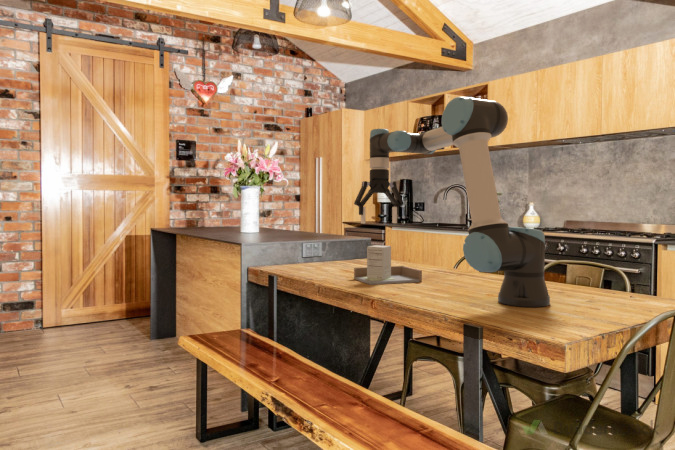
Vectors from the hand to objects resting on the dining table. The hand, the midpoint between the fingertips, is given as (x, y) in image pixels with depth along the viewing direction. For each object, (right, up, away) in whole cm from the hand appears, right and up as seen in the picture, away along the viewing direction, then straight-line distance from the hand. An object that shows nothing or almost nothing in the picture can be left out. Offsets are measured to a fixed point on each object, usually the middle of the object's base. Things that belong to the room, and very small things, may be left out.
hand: (378, 223), depth 209 cm
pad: (0, -23, +1) cm, 23 cm away
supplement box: (0, -22, +1) cm, 22 cm away
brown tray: (+4, -23, +2) cm, 23 cm away
